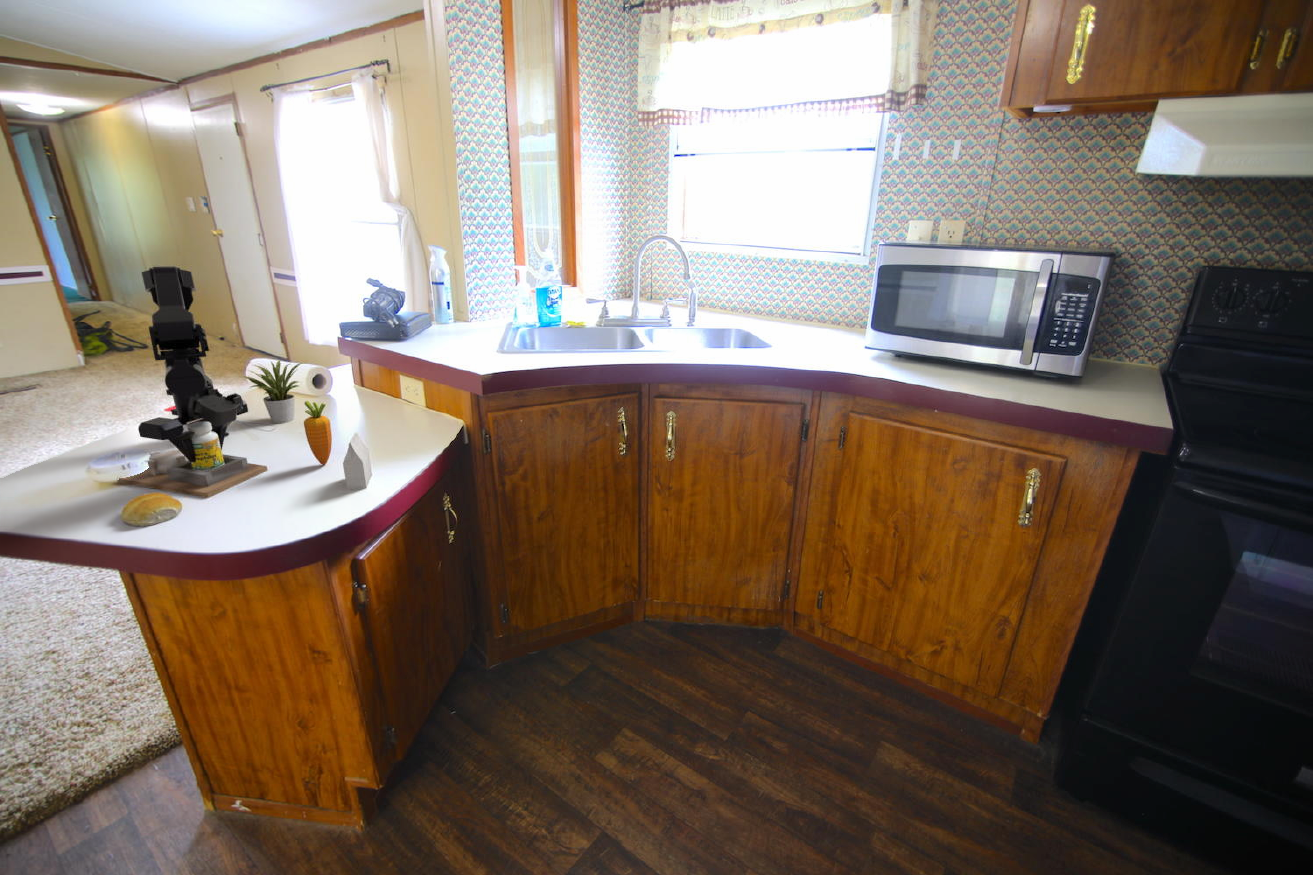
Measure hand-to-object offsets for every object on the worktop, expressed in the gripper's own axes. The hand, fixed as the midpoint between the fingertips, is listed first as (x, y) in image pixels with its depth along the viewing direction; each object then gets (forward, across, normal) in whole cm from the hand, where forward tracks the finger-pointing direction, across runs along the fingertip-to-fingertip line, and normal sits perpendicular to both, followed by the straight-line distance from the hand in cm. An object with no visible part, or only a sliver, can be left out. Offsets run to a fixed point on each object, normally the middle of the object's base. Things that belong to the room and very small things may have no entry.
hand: (206, 456), depth 121 cm
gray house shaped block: (+5, +8, -29) cm, 31 cm away
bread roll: (+5, -15, -4) cm, 17 cm away
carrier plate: (+5, 0, +4) cm, 6 cm away
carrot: (+5, +13, -16) cm, 21 cm away
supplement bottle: (+3, 0, 0) cm, 3 cm away
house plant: (+5, +36, +15) cm, 39 cm away
